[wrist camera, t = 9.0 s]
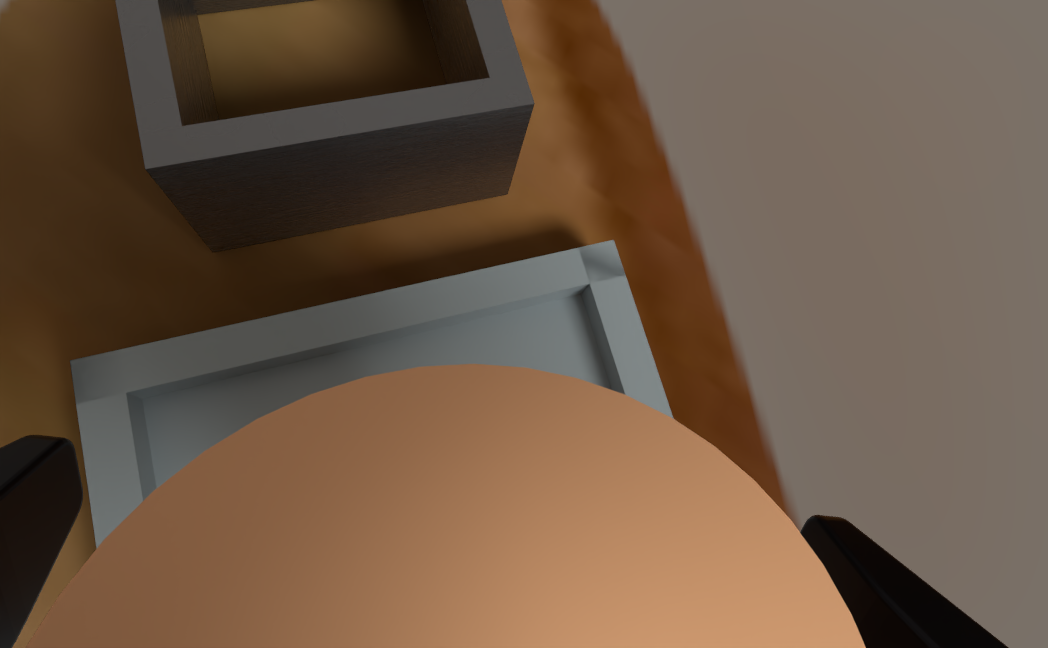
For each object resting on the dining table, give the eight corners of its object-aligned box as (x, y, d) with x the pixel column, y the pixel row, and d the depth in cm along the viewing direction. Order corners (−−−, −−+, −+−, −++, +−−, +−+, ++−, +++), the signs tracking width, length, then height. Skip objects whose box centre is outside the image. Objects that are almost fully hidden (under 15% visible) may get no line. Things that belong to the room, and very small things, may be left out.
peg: (545, 633, 15) (1060, 1169, 3) (356, 700, 15) (-11, 1859, 2) (494, 449, 16) (732, 285, 4) (313, 501, 15) (-115, 496, 3)
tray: (759, 750, 16) (792, 774, 15) (194, 991, 13) (168, 1050, 12) (598, 260, 19) (613, 239, 17) (101, 373, 16) (70, 360, 15)
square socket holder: (507, 193, 19) (534, 103, 15) (212, 252, 17) (145, 169, 13) (437, -37, 21) (443, -180, 16) (162, -6, 19) (87, -156, 15)
